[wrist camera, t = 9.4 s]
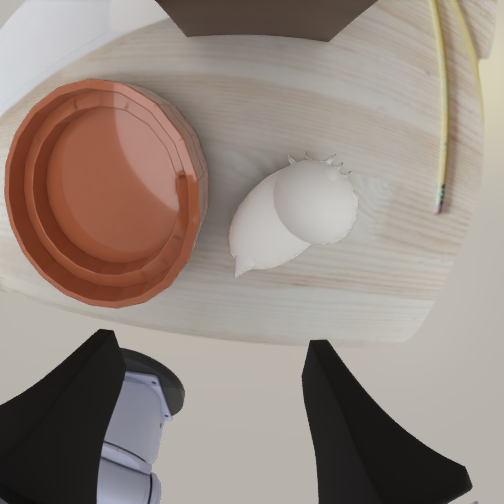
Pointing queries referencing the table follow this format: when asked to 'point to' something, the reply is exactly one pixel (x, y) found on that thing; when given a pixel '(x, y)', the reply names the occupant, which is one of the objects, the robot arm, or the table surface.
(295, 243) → the toy creature
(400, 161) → the table surface
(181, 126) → the bowl
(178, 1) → the taupe notched tower
